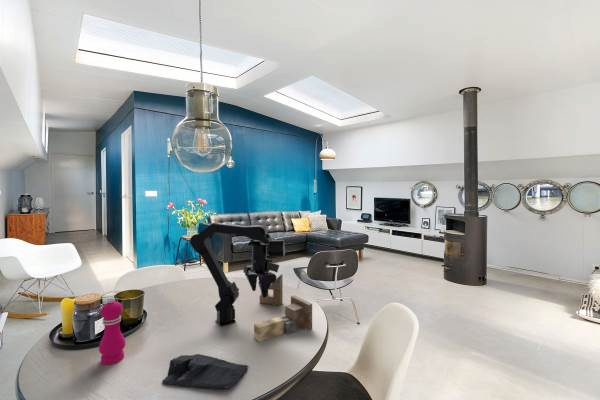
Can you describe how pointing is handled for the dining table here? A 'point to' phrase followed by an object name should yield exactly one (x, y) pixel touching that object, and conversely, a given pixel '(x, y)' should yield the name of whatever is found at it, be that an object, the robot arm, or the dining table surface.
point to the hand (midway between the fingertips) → (259, 294)
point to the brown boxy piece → (298, 315)
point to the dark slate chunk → (203, 372)
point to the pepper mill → (112, 333)
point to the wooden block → (274, 293)
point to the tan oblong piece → (269, 328)
